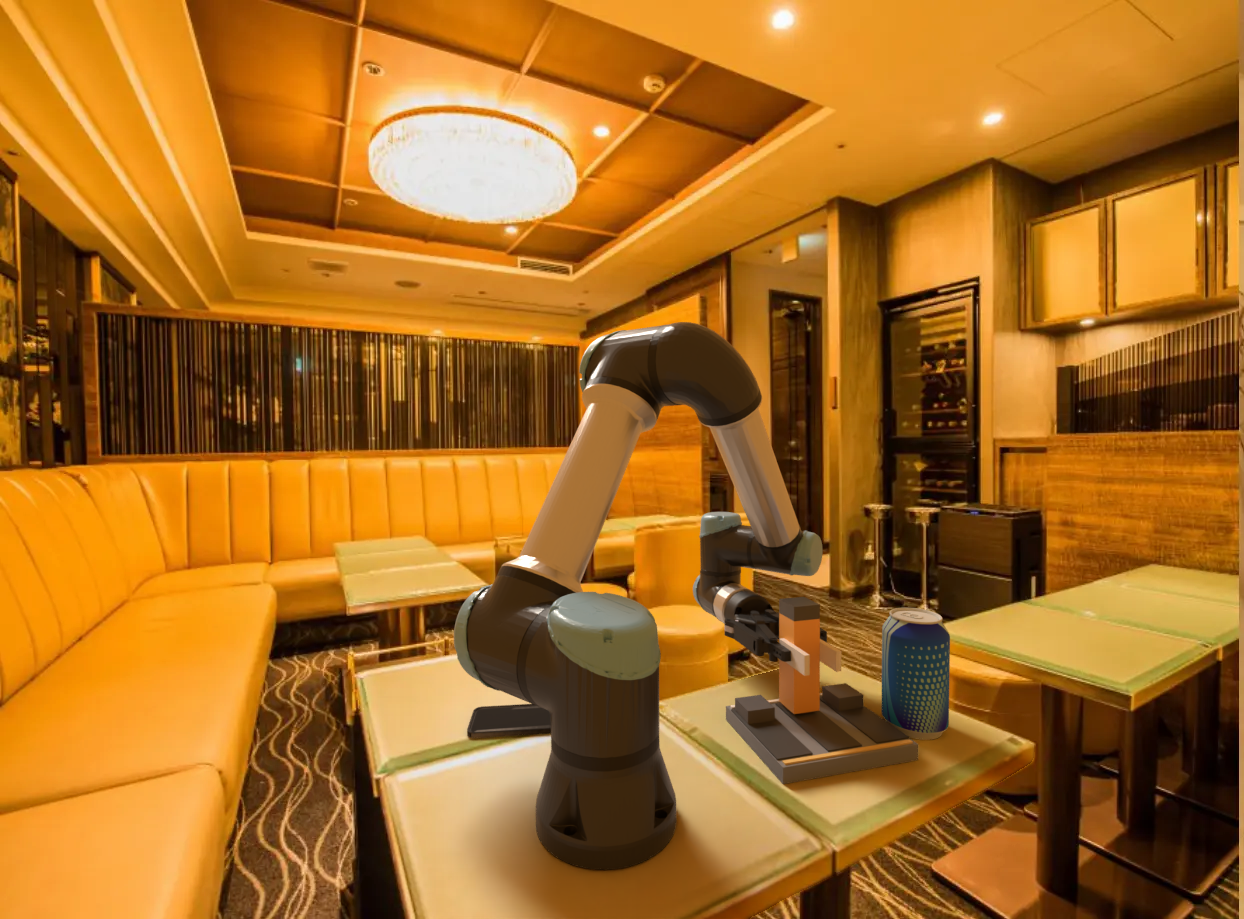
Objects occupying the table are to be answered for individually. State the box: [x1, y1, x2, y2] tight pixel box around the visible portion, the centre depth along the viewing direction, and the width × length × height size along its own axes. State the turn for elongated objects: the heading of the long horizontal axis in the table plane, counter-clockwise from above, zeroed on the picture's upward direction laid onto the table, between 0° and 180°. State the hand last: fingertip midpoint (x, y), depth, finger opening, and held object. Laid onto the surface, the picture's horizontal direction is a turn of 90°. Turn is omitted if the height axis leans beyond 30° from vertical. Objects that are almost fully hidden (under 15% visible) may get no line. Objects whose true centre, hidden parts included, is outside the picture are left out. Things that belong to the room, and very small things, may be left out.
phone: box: [466, 703, 551, 739], centre depth 84 cm, size 8×1×15 cm
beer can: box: [881, 607, 951, 741], centre depth 80 cm, size 8×8×16 cm
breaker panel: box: [725, 682, 919, 785], centre depth 78 cm, size 19×16×4 cm
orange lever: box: [778, 596, 821, 714], centre depth 82 cm, size 4×4×15 cm
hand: (822, 663), depth 76 cm, fingers closed on orange lever, 4 cm apart
